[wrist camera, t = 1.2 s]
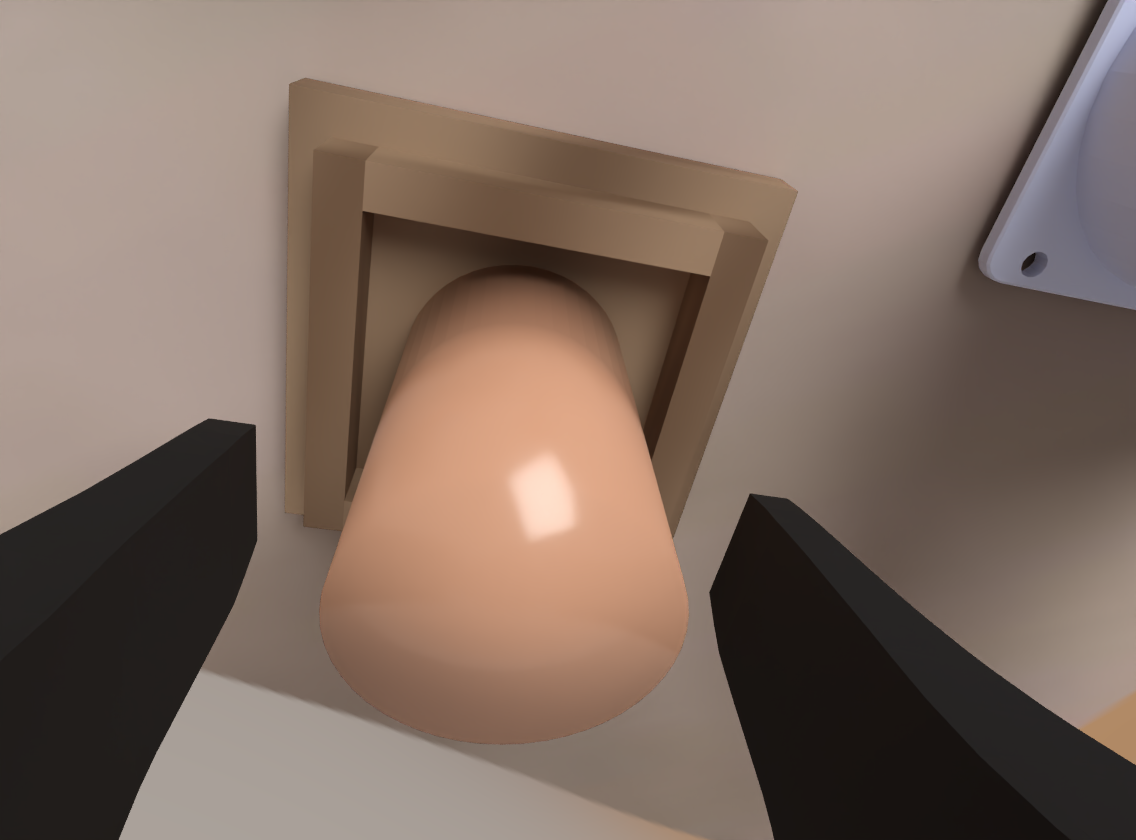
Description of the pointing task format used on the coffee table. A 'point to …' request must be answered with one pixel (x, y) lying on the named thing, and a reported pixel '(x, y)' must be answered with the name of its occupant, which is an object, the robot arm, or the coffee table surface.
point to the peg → (506, 525)
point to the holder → (503, 237)
